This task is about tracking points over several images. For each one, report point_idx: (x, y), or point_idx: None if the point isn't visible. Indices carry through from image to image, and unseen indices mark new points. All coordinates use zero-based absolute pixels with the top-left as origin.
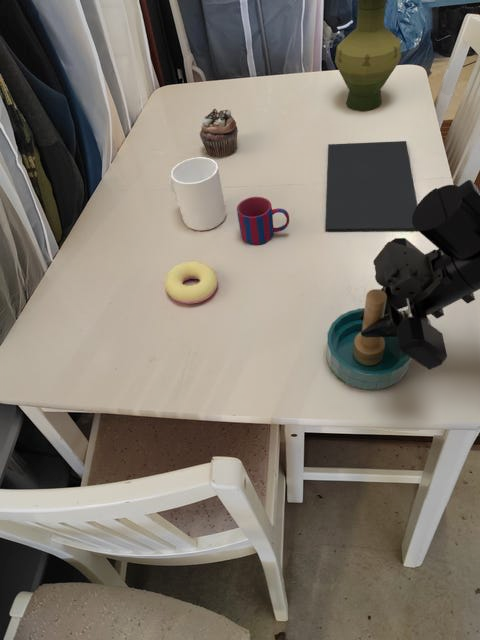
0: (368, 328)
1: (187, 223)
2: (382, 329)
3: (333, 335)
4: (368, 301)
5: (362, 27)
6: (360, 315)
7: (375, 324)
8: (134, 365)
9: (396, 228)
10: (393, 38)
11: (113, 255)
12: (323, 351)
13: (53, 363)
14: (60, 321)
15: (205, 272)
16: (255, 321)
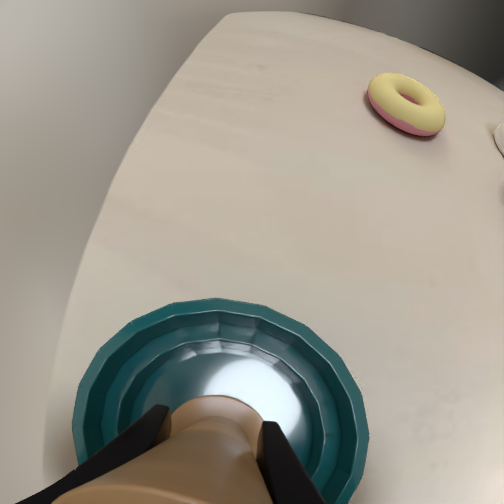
0: (137, 437)
1: (497, 127)
2: None
3: (277, 337)
4: (89, 482)
5: None
6: (274, 425)
7: (105, 472)
8: (253, 56)
9: None
10: None
11: (422, 67)
12: None
13: (263, 24)
14: (319, 28)
15: (427, 108)
16: (348, 180)
